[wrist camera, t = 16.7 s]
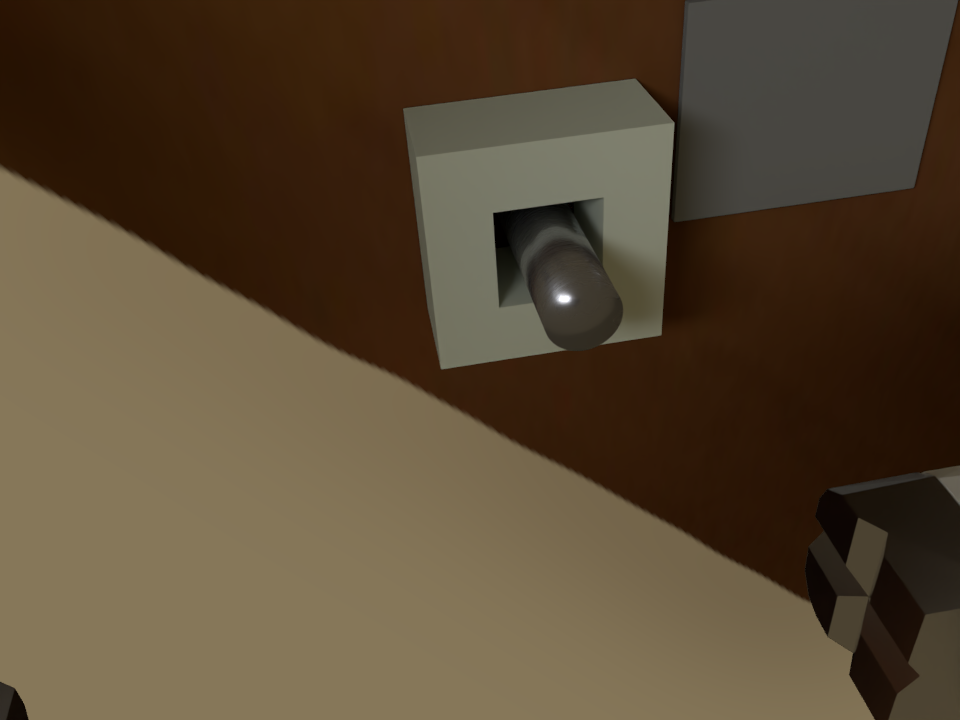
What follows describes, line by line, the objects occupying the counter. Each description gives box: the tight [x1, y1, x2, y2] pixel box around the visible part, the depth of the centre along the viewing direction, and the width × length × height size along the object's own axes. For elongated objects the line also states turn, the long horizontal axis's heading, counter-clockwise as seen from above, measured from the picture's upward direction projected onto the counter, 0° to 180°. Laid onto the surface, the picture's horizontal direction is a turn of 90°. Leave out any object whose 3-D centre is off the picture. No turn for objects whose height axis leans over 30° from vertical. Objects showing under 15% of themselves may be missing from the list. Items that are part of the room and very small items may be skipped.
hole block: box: [403, 79, 674, 369], centre depth 40 cm, size 10×10×5 cm
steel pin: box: [496, 203, 623, 351], centre depth 38 cm, size 3×3×10 cm
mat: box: [671, 0, 958, 222], centre depth 41 cm, size 12×10×1 cm
